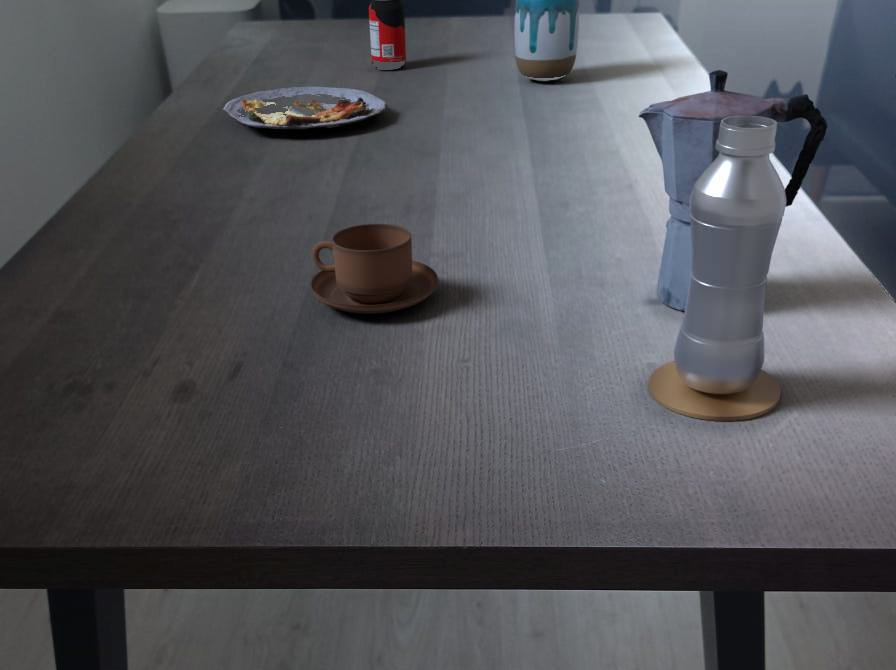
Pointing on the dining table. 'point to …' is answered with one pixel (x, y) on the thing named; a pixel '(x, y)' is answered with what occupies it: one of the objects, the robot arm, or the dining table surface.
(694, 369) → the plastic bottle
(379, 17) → the beverage can
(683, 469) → the dining table surface
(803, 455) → the dining table surface
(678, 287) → the moka pot
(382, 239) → the cup and saucer
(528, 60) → the vase
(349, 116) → the food plate
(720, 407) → the coaster
